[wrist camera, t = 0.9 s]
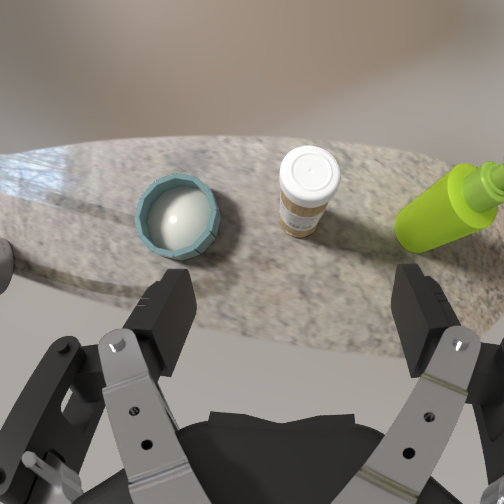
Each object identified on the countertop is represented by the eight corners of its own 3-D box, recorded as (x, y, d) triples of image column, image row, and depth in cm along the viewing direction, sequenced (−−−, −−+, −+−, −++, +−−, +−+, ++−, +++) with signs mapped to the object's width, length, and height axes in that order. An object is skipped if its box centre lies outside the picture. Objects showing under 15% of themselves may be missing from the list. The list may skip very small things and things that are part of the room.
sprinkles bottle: (324, 210, 35) (350, 159, 22) (307, 245, 35) (327, 211, 21) (288, 193, 36) (295, 134, 22) (270, 227, 35) (269, 183, 22)
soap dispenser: (430, 267, 33) (549, 231, 13) (386, 236, 34) (486, 169, 14) (447, 227, 34) (556, 169, 14) (405, 196, 35) (498, 111, 15)
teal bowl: (181, 276, 35) (173, 273, 32) (131, 224, 36) (120, 218, 34) (236, 216, 36) (233, 208, 33) (182, 169, 37) (175, 159, 34)
